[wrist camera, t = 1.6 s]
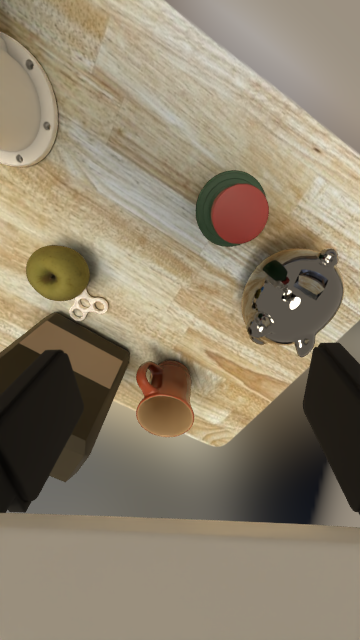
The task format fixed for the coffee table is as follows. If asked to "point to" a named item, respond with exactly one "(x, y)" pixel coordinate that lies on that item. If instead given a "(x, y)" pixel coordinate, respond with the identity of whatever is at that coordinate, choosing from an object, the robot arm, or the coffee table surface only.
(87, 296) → the fidget spinner
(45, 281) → the apple
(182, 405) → the mug
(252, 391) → the coffee table surface
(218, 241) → the sauce bottle
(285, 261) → the piggy bank
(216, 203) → the cap
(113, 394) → the bottle
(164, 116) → the coffee table surface
